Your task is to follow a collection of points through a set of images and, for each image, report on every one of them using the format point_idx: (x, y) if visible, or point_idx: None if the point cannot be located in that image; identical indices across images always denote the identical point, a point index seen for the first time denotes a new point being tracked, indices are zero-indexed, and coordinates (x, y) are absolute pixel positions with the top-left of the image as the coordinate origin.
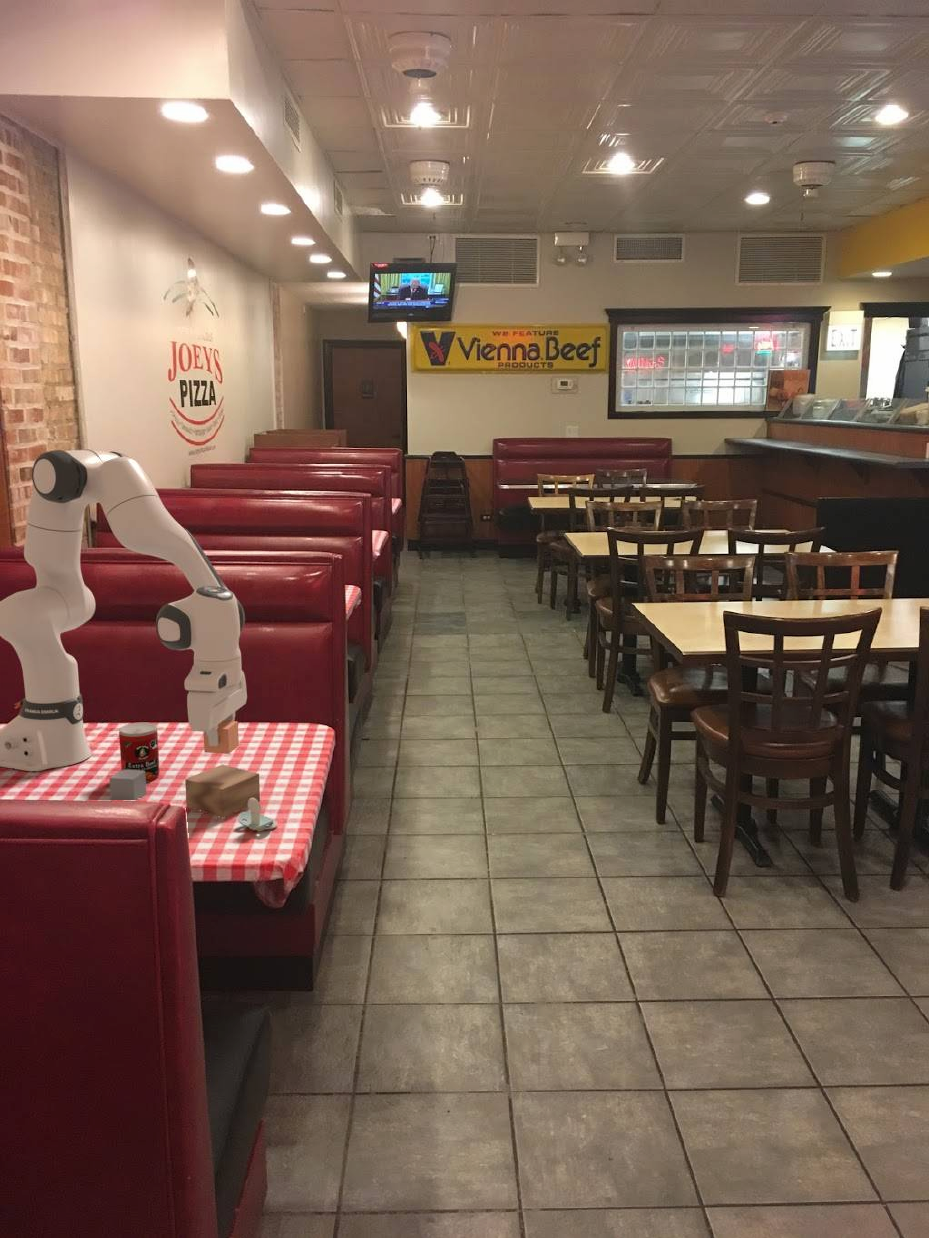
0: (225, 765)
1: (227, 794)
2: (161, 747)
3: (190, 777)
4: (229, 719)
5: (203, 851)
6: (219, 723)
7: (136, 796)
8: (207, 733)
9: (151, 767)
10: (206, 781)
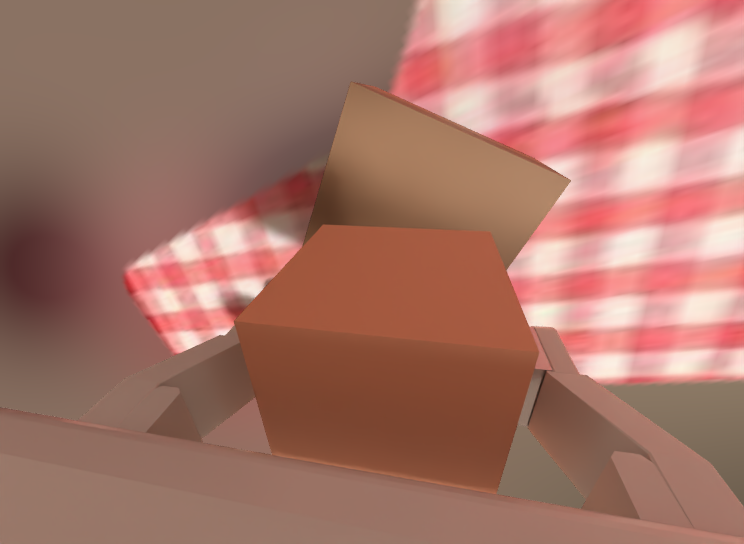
0: (553, 199)
1: None
2: None
3: (376, 97)
4: (584, 464)
5: (162, 252)
6: (409, 420)
7: None
8: (178, 363)
9: None
10: (347, 192)
